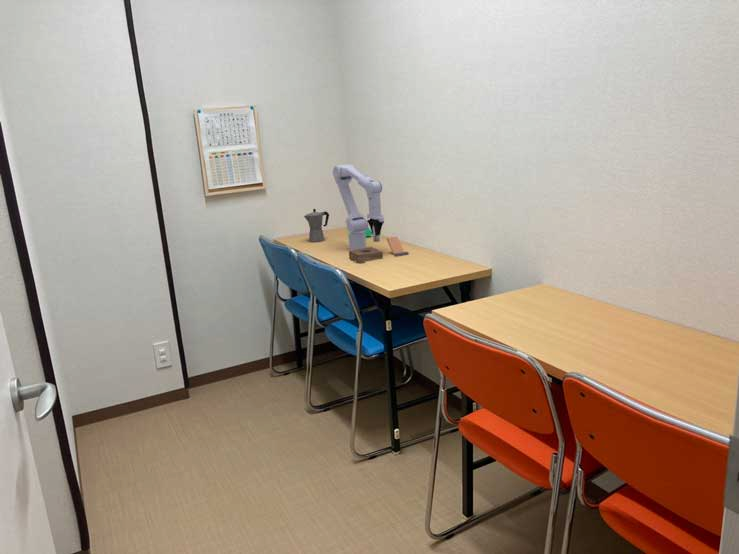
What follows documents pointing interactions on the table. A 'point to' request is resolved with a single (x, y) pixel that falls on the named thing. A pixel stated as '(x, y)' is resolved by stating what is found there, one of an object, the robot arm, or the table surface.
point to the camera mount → (366, 233)
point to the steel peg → (375, 238)
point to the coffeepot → (316, 225)
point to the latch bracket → (401, 254)
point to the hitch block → (365, 254)
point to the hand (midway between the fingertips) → (376, 234)
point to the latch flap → (395, 245)
